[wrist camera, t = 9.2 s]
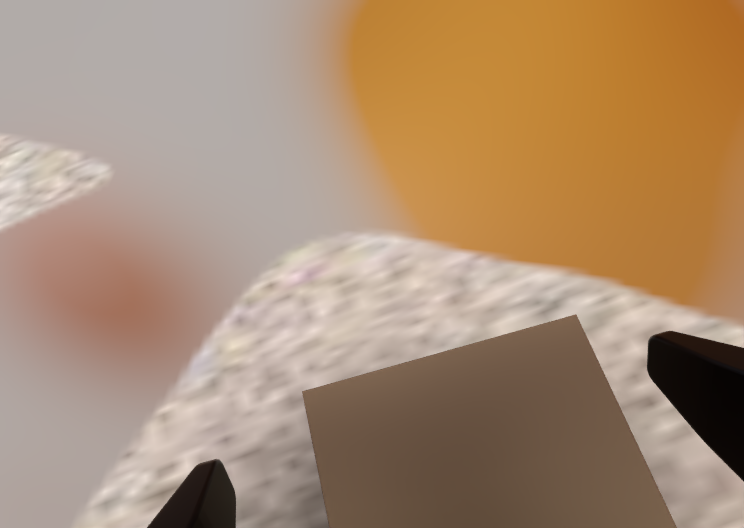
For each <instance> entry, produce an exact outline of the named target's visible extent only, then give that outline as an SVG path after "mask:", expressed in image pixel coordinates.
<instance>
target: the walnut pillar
mask: <svg viewBox="0 0 744 528" xmlns="http://www.w3.org/2000/svg"><path fill="white" fill-rule="evenodd" d="M302 393H303V398H304V403H305V408H306V413H307V418H308V423H309V428H310V433H311V438H312V443H313V448H314V453H315V458H316V463H317V468H318V473H319V478H320V483H321V488H322V493H323V498H324V503H325V508H326V512H327V517H328V522H329V527H330V528H677V527H676V525H675V523H674V521H673V519H672V517H671V514H670V512H669V510H668V508H667V506H666V504H665V502H664V500H663V497H662V495H661V493H660V491H659V489H658V487H657V485H656V483H655V481H654V478H653V476H652V474H651V472H650V470H649V468H648V466H647V464H646V461H645V459H644V457H643V455H642V453H641V451H640V449H639V447H638V444H637V442H636V440H635V438H634V436H633V434H632V432H631V430H630V428H629V425H628V423H627V421H626V419H625V417H624V415H623V413H622V411H621V408H620V406H619V404H618V402H617V400H616V398H615V396H614V394H613V392H612V389H611V387H610V385H609V383H608V381H607V379H606V377H605V375H604V372H603V370H602V368H601V366H600V364H599V362H598V360H597V358H596V355H595V353H594V351H593V349H592V347H591V345H590V343H589V341H588V339H587V336H586V334H585V332H584V330H583V328H582V326H581V324H580V322H579V319H578V317H577V315H572V316H569V317H565V318H562V319H558V320H555V321H551V322H548V323H544V324H541V325H537V326H533V327H530V328H526V329H523V330H519V331H516V332H512V333H509V334H505V335H501V336H498V337H494V338H491V339H487V340H484V341H480V342H477V343H473V344H469V345H466V346H462V347H459V348H455V349H452V350H448V351H445V352H441V353H437V354H434V355H430V356H427V357H423V358H420V359H416V360H413V361H409V362H405V363H402V364H398V365H395V366H391V367H388V368H384V369H381V370H377V371H374V372H370V373H366V374H363V375H359V376H356V377H352V378H349V379H345V380H342V381H338V382H334V383H331V384H327V385H324V386H320V387H317V388H313V389H310V390H306V391H302Z"/></svg>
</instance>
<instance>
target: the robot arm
mask: <svg viewBox="0 0 744 528" xmlns="http://www.w3.org/2000/svg"><path fill="white" fill-rule="evenodd" d="M647 370H648V373H649V376H650V378H651V379H652V381H653V382H654V383H655V384H656V385H657V387H658V388H659V389H660V390H661V391H662V393H663V394H664V395H665V396H666V397H667V398H668V400H669V401H670V402H671V403H672V404H673V406H674V407H675V408H676V409H677V410H678V412H679V413H680V414H681V415H682V416H683V418H684V419H685V420H686V421H687V422H688V423H689V425H690V426H691V427H692V428H693V429H694V431H695V432H696V433H697V434H698V435H699V436H700V437H701V439H702V440H703V441H704V442H705V443H706V444H707V445H708V446H709V447H710V448H711V449H712V450H713V451H714V452H715V453H716V454H717V455H718V456H719V457H720V458H721V459H722V460H723V461H724V462H725V463H726V464H727V465H728V466H729V467H730V468H731V469H732V470H733V471H734V472H735V473H736V474H737V475H738V476H739V477H740V478H741V479H742V480H743V481H744V348H742V347H737V346H733V345H729V344H725V343H721V342H716V341H712V340H708V339H704V338H700V337H695V336H691V335H687V334H683V333H679V332H674V331H666V332H663V333H659V334H655V335H653V336H651V337H650V339H649V341H648V357H647ZM147 528H236V496H235V491H234V488H233V485H232V483H231V481H230V479H229V477H228V474H227V472H226V470H225V468H224V466H223V464H222V462H221V461H220V460H218V459H214V460H210V461H207V462H203V463H200V464H198V465H197V466H196V467H195V468H194V469H193V470H192V471H191V473H190V474H189V475H188V476H187V478H186V479H185V480H184V481H183V483H182V484H181V485H180V486H179V488H178V489H177V490H176V492H175V493H174V494H173V495H172V497H171V498H170V499H169V500H168V502H167V503H166V504H165V505H164V507H163V508H162V509H161V511H160V512H159V513H158V514H157V516H156V517H155V518H154V519H153V521H152V522H151V523H150V524H149V526H148V527H147Z"/></svg>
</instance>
